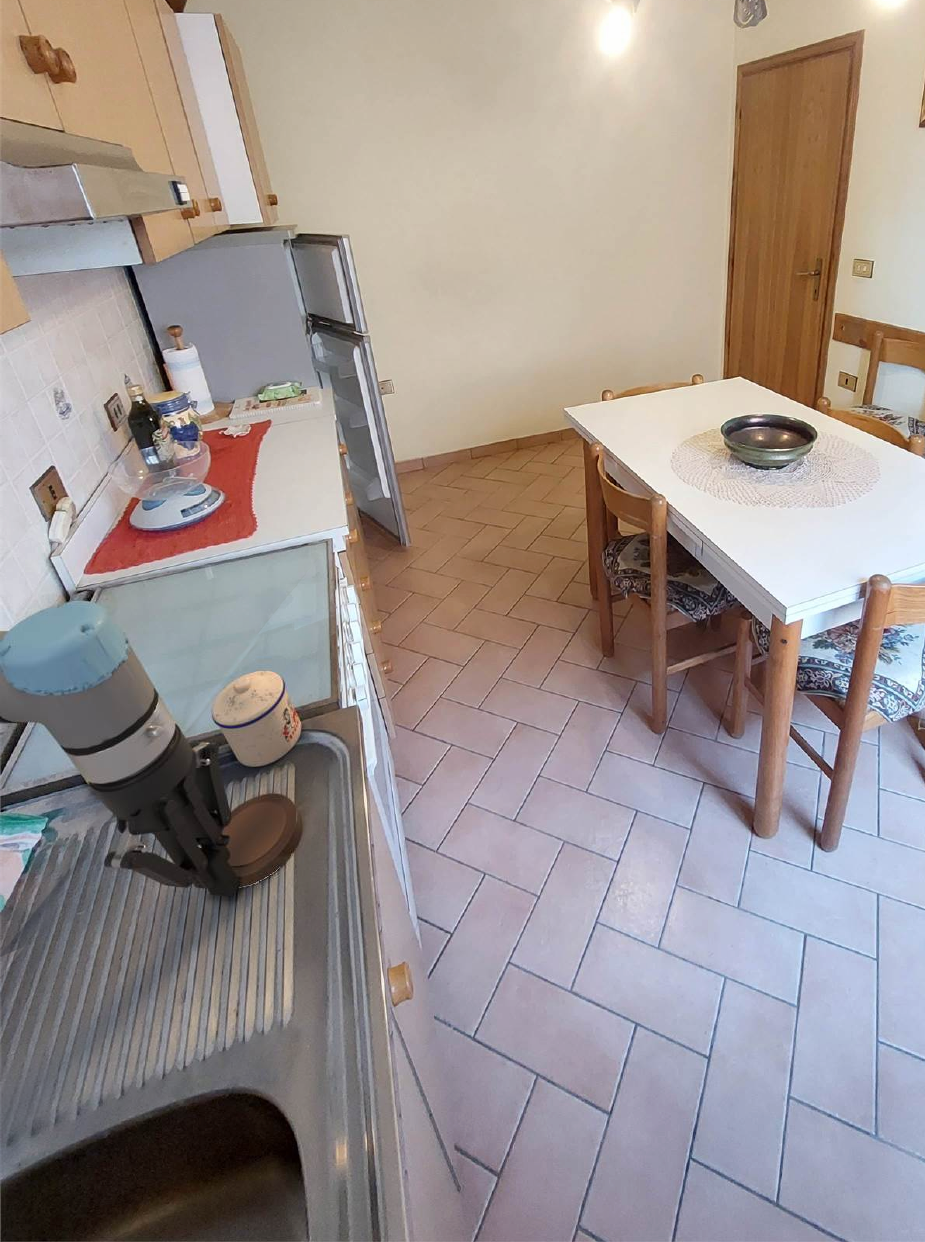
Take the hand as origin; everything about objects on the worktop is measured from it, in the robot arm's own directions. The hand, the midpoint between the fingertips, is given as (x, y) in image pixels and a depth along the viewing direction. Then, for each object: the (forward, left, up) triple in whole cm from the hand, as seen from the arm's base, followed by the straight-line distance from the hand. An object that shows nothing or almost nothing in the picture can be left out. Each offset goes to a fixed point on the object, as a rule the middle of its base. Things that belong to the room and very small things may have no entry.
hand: (226, 888), depth 68 cm
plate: (0, +6, -2) cm, 6 cm away
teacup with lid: (-8, +21, -2) cm, 22 cm away
